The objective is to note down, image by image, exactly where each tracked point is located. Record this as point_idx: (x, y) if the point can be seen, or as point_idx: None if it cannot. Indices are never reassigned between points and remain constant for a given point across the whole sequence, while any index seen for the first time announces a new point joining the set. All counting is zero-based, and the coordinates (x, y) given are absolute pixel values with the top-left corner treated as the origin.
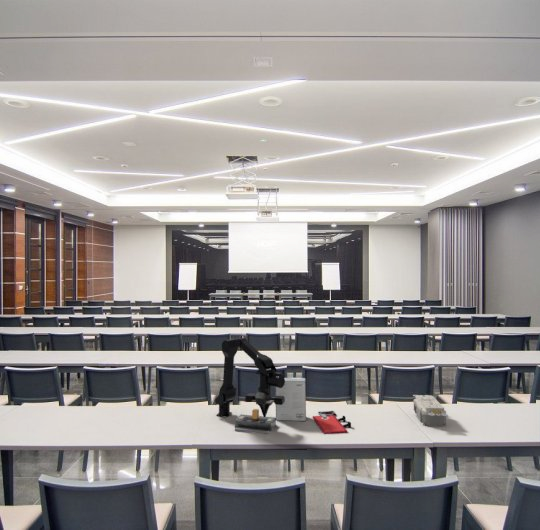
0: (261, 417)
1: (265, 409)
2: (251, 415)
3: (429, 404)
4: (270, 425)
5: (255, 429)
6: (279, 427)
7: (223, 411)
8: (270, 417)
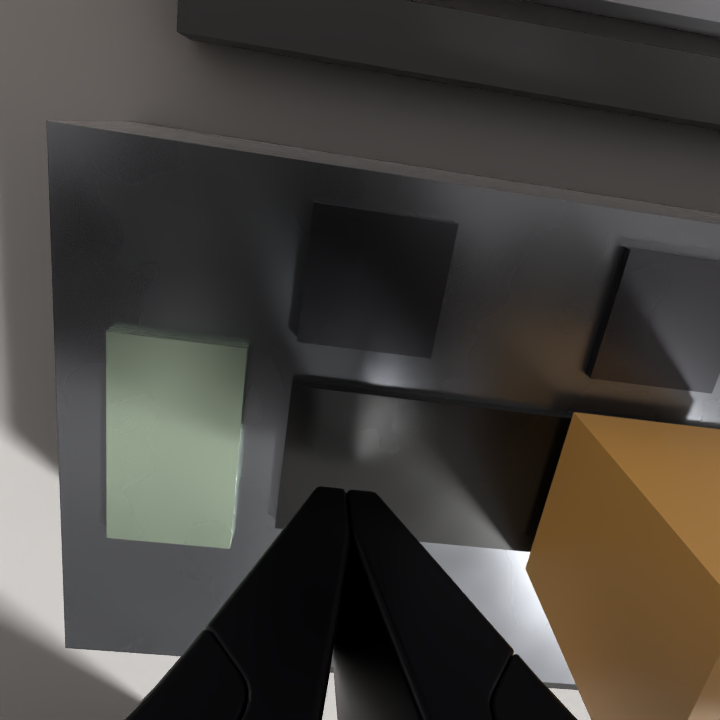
0: None
1: (264, 693)
2: None
3: None
4: (87, 122)
5: (541, 31)
6: (4, 404)
7: None
8: None
